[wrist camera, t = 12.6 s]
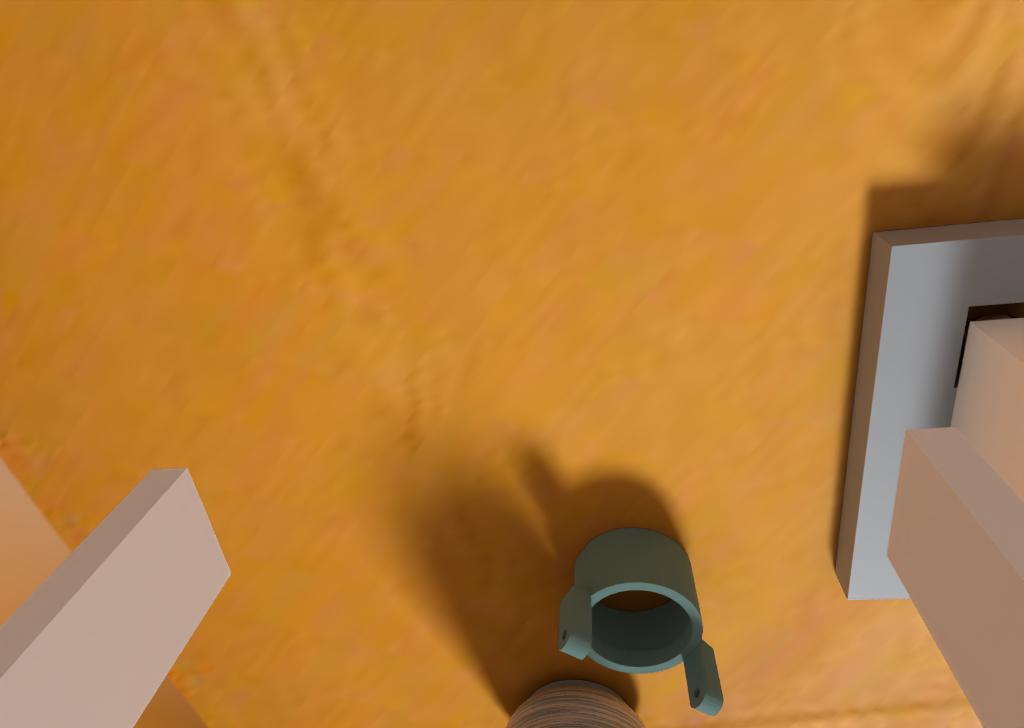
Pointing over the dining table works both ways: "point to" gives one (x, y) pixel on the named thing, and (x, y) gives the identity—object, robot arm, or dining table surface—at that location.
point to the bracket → (639, 612)
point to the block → (994, 395)
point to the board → (912, 370)
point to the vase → (574, 708)
